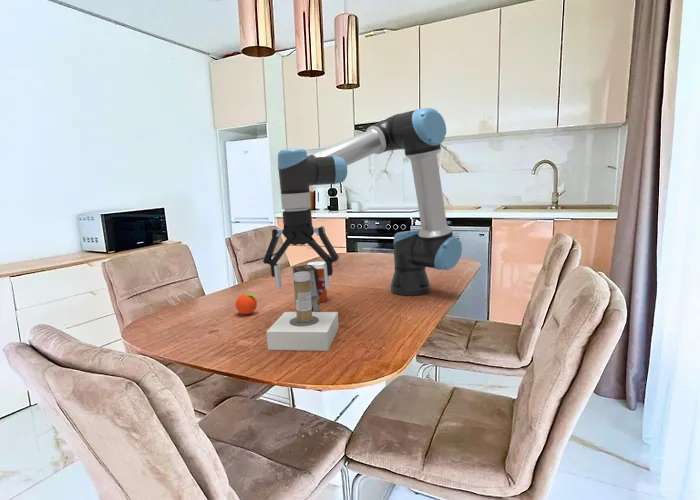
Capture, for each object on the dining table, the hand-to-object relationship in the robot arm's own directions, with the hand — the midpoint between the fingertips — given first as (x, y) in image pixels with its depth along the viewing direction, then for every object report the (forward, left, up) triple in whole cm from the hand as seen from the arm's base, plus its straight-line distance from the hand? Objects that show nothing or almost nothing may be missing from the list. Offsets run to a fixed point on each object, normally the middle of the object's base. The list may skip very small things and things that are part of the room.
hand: (303, 287), depth 111 cm
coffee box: (+4, -19, -15) cm, 24 cm away
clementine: (+25, -21, -15) cm, 36 cm away
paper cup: (+4, -36, -15) cm, 39 cm away
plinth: (0, 0, -14) cm, 14 cm away
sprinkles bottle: (0, 0, -9) cm, 9 cm away
